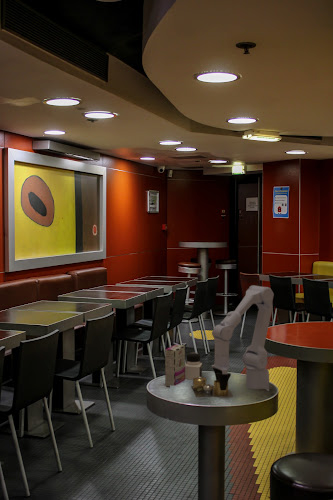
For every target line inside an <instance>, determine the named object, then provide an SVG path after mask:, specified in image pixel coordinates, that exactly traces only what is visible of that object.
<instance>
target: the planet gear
mask: <svg viewBox="0 0 333 500" xmlns="http://www.w3.org/2000/svg"><path fill="white" fill-rule="evenodd" d="M213 386H214V394H217V395H226V394H228V390H229V382H228V383H227V388H226V390H220V384H219V380H216V379H215V380H213Z"/></svg>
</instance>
